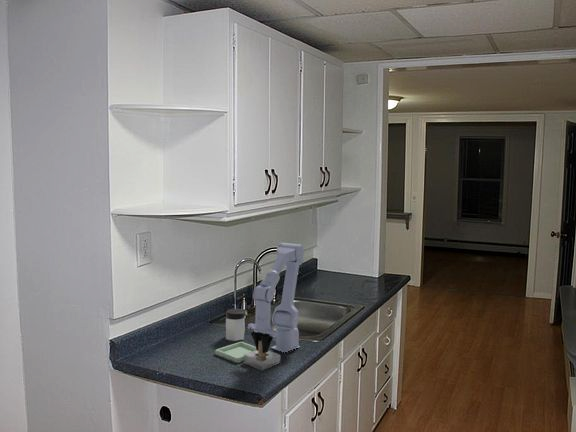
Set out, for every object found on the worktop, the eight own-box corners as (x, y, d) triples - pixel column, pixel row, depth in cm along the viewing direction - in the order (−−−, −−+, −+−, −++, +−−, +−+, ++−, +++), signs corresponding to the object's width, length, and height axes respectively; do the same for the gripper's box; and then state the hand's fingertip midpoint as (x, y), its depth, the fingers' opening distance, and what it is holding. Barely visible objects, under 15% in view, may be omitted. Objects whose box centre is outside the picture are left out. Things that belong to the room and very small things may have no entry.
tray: (241, 346, 235) (241, 341, 235) (263, 354, 226) (263, 349, 226) (215, 354, 225) (215, 349, 224) (237, 363, 216) (237, 358, 216)
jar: (244, 341, 241) (244, 314, 239) (225, 341, 240) (225, 314, 239) (244, 334, 250) (245, 308, 248) (226, 334, 249) (226, 308, 248)
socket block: (262, 356, 224) (262, 348, 223) (280, 363, 217) (280, 354, 216) (243, 363, 216) (243, 354, 216) (261, 370, 210) (261, 361, 209)
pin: (261, 361, 219) (262, 339, 218) (267, 363, 217) (267, 341, 216) (256, 363, 216) (256, 340, 215) (261, 365, 214) (262, 342, 213)
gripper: (242, 314, 216) (241, 348, 218) (268, 323, 207) (268, 358, 208) (255, 311, 221) (254, 344, 223) (282, 319, 212) (281, 354, 213)
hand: (262, 351), depth 216 cm, fingers closed on pin, 3 cm apart
